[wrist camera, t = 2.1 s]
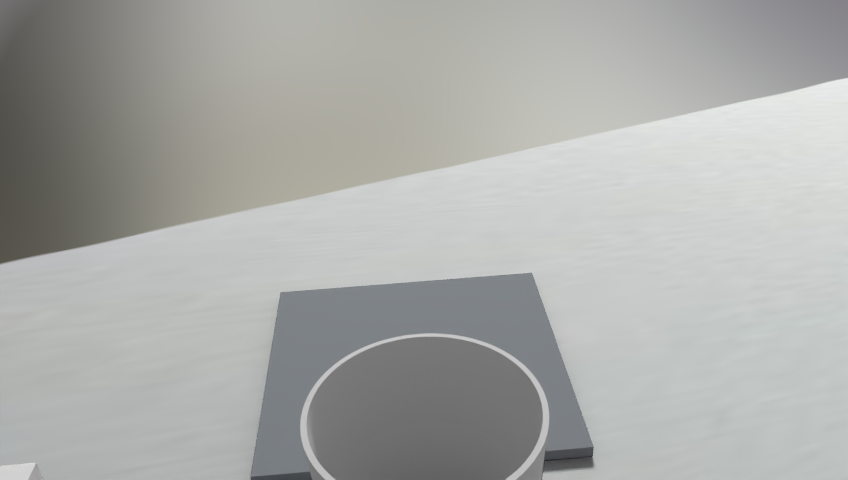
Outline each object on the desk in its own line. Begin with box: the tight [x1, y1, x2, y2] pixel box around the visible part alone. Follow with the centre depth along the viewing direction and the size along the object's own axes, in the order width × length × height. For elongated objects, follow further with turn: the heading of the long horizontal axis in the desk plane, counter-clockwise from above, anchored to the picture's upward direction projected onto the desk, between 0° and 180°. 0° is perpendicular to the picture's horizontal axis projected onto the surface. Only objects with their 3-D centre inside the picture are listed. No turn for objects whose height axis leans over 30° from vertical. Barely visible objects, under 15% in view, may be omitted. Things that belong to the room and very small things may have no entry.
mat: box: [251, 273, 593, 480], centre depth 42 cm, size 16×15×1 cm
